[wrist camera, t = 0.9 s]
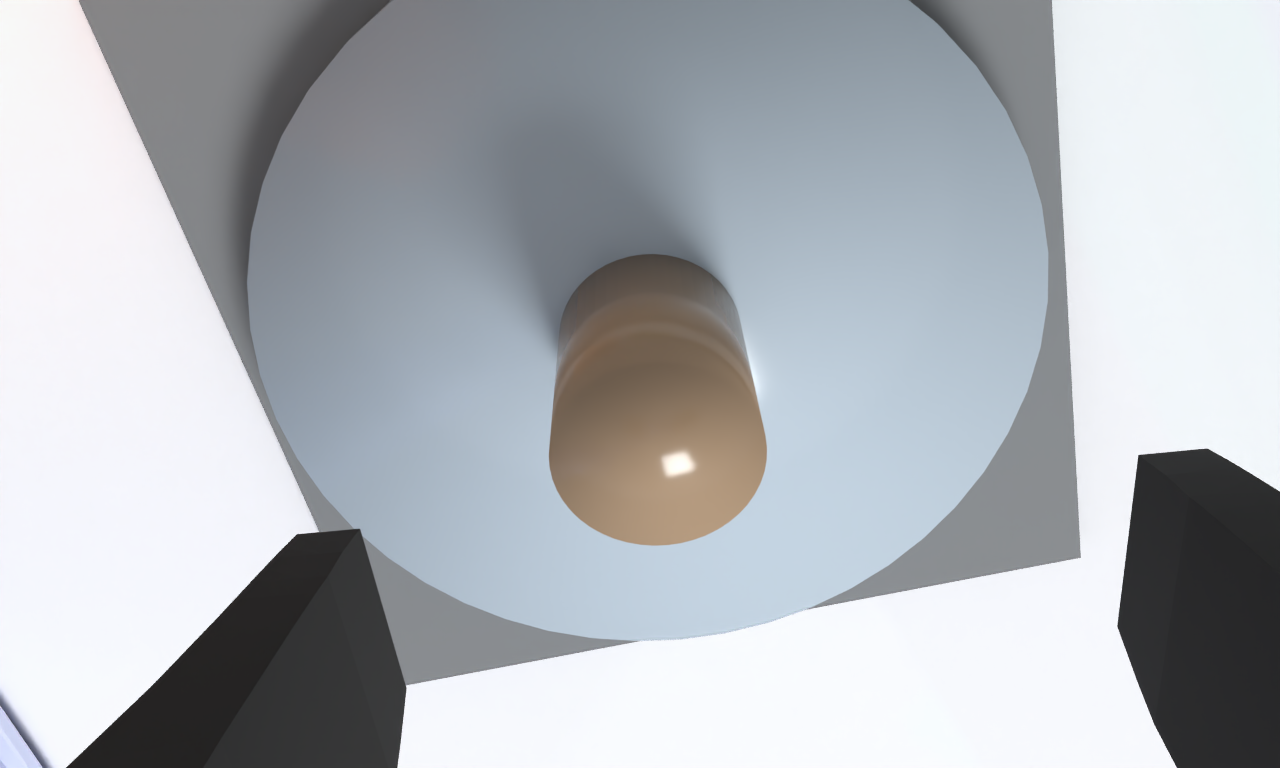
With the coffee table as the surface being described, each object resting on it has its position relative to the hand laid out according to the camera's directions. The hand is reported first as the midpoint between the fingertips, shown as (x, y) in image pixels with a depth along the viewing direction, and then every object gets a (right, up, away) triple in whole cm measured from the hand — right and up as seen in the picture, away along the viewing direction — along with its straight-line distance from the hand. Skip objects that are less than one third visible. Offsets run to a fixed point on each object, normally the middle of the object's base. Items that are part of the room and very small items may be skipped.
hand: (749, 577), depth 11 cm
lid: (-1, +3, +9) cm, 9 cm away
